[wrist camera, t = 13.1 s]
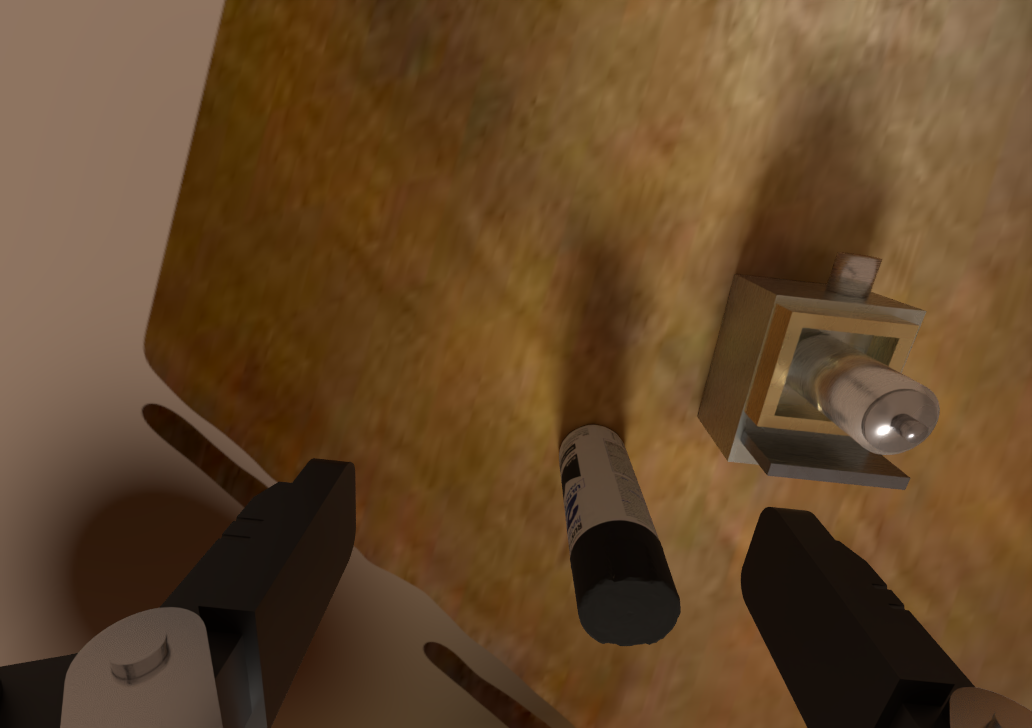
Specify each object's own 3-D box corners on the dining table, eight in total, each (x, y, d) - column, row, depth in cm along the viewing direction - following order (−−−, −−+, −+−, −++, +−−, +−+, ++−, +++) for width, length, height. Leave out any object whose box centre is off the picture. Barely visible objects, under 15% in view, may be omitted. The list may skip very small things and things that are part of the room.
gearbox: (743, 239, 43) (828, 265, 31) (871, 253, 43) (1005, 284, 31) (697, 417, 49) (752, 497, 37) (809, 429, 49) (901, 513, 37)
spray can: (560, 420, 49) (578, 571, 31) (629, 422, 49) (689, 575, 31) (556, 478, 52) (572, 651, 33) (622, 480, 52) (675, 655, 33)
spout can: (793, 332, 37) (890, 390, 27) (857, 338, 37) (977, 398, 27) (775, 391, 39) (860, 466, 29) (837, 396, 39) (942, 474, 29)
